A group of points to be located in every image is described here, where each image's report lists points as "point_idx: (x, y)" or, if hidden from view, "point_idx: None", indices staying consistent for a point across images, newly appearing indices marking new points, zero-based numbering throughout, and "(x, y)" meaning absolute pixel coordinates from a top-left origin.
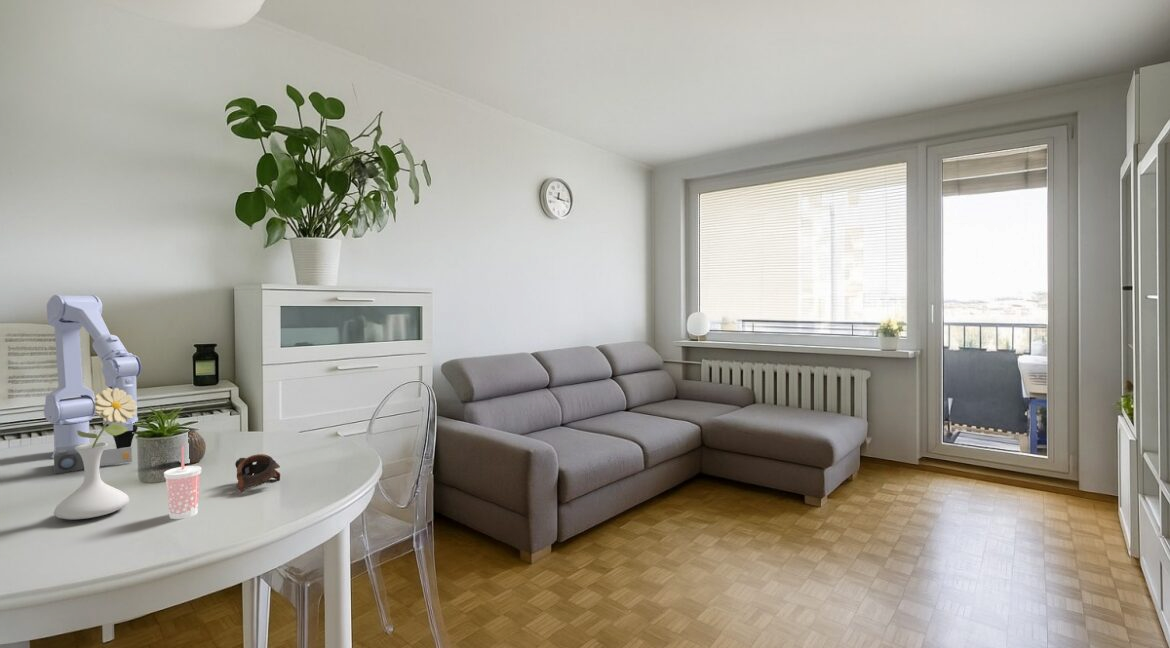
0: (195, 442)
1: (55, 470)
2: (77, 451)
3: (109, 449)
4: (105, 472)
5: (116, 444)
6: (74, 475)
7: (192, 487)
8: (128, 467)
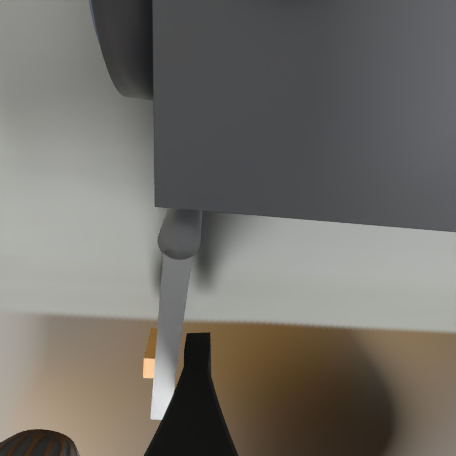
0: None
1: None
2: (245, 124)
3: (178, 339)
4: (23, 229)
5: (169, 405)
6: (32, 68)
7: None
8: (85, 313)
